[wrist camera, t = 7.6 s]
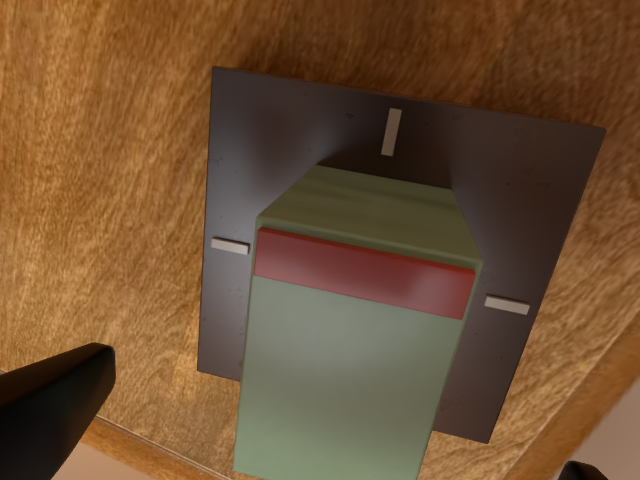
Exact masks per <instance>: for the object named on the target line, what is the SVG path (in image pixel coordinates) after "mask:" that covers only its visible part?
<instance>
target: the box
mask: <svg viewBox="0 0 640 480" xmlns="http://www.w3.org/2000/svg"><path fill="white" fill-rule="evenodd" d="M483 264H484V263H483V259H482V257H481V255H480V252H479V250H478V248H477V246H476V243H475V241H474V239H473V236H472V234H471V232H470V230H469V227H468V225H467V223H466V221H465V218H464V216H463V214H462V212H461V209H460V207H459V205H458V203H457V200H456V198H455V196H454V194H453V191H452V190H450V189H445V188H440V187H434V186H429V185H423V184H418V183H412V182H407V181H401V180H396V179H390V178H385V177H379V176H374V175H368V174H363V173H357V172H351V171H346V170H340V169H335V168H329V167H324V166H318V165H315V166H313V167H312V168H311V169H310V170H309V171H308V172H306V173H305V174H304V175H303V176H302V177H301V178H300V179H298V180H297V181H296V182H295V183H294V184H293V185H292V186H290V187H289V188H288V189H287V190H286V191H285V192H284V193H283V194H281V195H280V196H279V197H278V198H277V199H276V200H275V201H273V202H272V203H271V204H270V205H269V206H268V207H267V208H265V209H264V210H263V211H262V212H261V213H260V214H259V215H257V217H256V223H255V233H254V244H253V255H252V265H251V276H250V287H249V297H248V308H247V319H246V329H245V340H244V350H243V361H242V372H241V382H240V393H239V404H238V414H237V425H236V436H235V446H234V457H233V470H234V471H236V472H239V473H243V474H247V475H250V476H254V477H257V478H261V479H265V480H417V478H418V475H419V472H420V468H421V465H422V462H423V459H424V455H425V452H426V449H427V446H428V442H429V439H430V436H431V433H432V430H433V426H434V423H435V420H436V417H437V413H438V410H439V407H440V404H441V400H442V397H443V394H444V391H445V387H446V384H447V381H448V378H449V374H450V371H451V368H452V365H453V361H454V358H455V355H456V352H457V348H458V345H459V342H460V339H461V335H462V332H463V329H464V326H465V323H466V319H467V316H468V313H469V310H470V306H471V303H472V300H473V297H474V293H475V290H476V287H477V284H478V280H479V277H480V274H481V271H482V267H483Z"/></svg>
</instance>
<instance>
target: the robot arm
mask: <svg viewBox="0 0 640 480" xmlns="http://www.w3.org/2000/svg"><path fill="white" fill-rule="evenodd" d="M115 380H116V370H115V351H114V349H113V347H111V346H109V345H105V344H101V343H95V342H94V343H90V344H87V345H84V346H81V347H78V348H75V349H73V350H70V351H67V352H64V353H61V354H58V355H56V356H53V357H50V358H47V359H44V360H41V361H39V362H36V363H33V364H30V365H27V366H24V367H21V368H19V369H16V370H13V371H10V372H7V373H4V374H2V375H0V480H51V479H52V477H53V476H54V475H55V474H56V472H57V471H58V470H59V469H60V467H61V466H62V464H63V463H64V461H66V459H67V458H68V457H69V455H70V454H71V452H72V451H73V449H74V448H75V446H76V445H77V443H78V442H79V440H80V439H81V437H82V436H83V434H84V433H85V431H86V430H87V428H88V426H89V425H90V423H91V422H92V420H93V419H94V417H95V416H96V414H97V413H98V411H99V410H100V408H101V406H102V405H103V403H104V402H105V400H106V399H107V397H108V396H109V394H110V393H111V391H112V389H113V387H114V384H115ZM558 480H608V479H607V478H606V477H605V476H604V475H603V474H602V473H601V472H600V471H599V470H598V469H597V468H596V467H594V466H592V465H589V464H585V463H581V462H577V461H568V462H567V463H566V464H565V465H564V467H563V470H562V472H561V474H560V476H559V478H558Z"/></svg>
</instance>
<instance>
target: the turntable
mask: <svg viewBox="0 0 640 480" xmlns="http://www.w3.org/2000/svg"><path fill="white" fill-rule="evenodd" d="M605 133H606V129H605V128H602V127H597V126H593V125H588V124H583V123H578V122H572V121H566V120H559V119H553V118H547V117H540V116H534V115H528V114H521V113H515V112H509V111H503V110H496V109H490V108H484V107H477V106H471V105H465V104H458V103H452V102H446V101H440V100H433V99H427V98H421V97H414V96H408V95H402V94H395V93H389V92H383V91H377V90H370V89H364V88H358V87H351V86H345V85H339V84H333V83H326V82H320V81H314V80H307V79H301V78H295V77H288V76H282V75H276V74H270V73H263V72H257V71H251V70H244V69H238V68H230V67H220V66H213V67H212V82H211V102H210V122H209V142H208V162H207V181H206V201H205V221H204V241H203V261H202V280H201V300H200V320H199V340H198V360H197V371H199V372H203V373H207V374H211V375H215V376H219V377H223V378H227V379H231V380H235V381H239V382H241V372H242V361H243V350H244V340H245V329H246V319H247V308H248V297H249V287H250V276H251V265H252V255H253V244H254V233H255V223H256V217H257V215H259V214H260V213H261V212H262V211H263V210H264V209H265V208H267V207H268V206H269V205H270V204H271V203H272V202H273V201H275V200H276V199H277V198H278V197H279V196H280V195H281V194H283V193H284V192H285V191H286V190H287V189H288V188H289V187H290V186H292V185H293V184H294V183H295V182H296V181H297V180H298V179H300V178H301V177H302V176H303V175H304V174H305V173H306V172H308V171H309V170H310V169H311V168H312V167H313V166H315V165H318V166H324V167H329V168H335V169H340V170H346V171H351V172H357V173H363V174H368V175H374V176H379V177H385V178H390V179H396V180H401V181H407V182H412V183H418V184H423V185H429V186H434V187H440V188H445V189H450V190H452V191H453V194H454V196H455V198H456V200H457V203H458V205H459V207H460V209H461V212H462V214H463V216H464V218H465V221H466V223H467V225H468V227H469V230H470V232H471V234H472V236H473V239H474V241H475V243H476V246H477V248H478V250H479V252H480V255H481V257H482V259H483V263H484V264H483V267H482V271H481V274H480V277H479V280H478V284H477V287H476V290H475V293H474V297H473V300H472V303H471V306H470V310H469V313H468V316H467V319H466V323H465V326H464V329H463V332H462V335H461V339H460V342H459V345H458V348H457V352H456V355H455V358H454V361H453V365H452V368H451V371H450V374H449V378H448V381H447V384H446V387H445V391H444V394H443V397H442V400H441V404H440V407H439V410H438V413H437V417H436V420H435V423H434V426H433V431H437V432H441V433H445V434H449V435H453V436H457V437H461V438H465V439H469V440H473V441H477V442H481V443H485V444H488V443H489V440H490V437H491V435H492V432H493V429H494V427H495V424H496V422H497V419H498V416H499V414H500V411H501V408H502V406H503V403H504V400H505V398H506V395H507V392H508V390H509V387H510V385H511V382H512V379H513V377H514V374H515V371H516V369H517V366H518V363H519V361H520V358H521V355H522V353H523V350H524V348H525V345H526V342H527V340H528V337H529V334H530V332H531V329H532V326H533V324H534V321H535V318H536V316H537V313H538V311H539V308H540V305H541V303H542V300H543V297H544V295H545V292H546V289H547V287H548V284H549V281H550V279H551V276H552V274H553V271H554V268H555V266H556V263H557V260H558V258H559V255H560V252H561V250H562V247H563V244H564V242H565V239H566V237H567V234H568V231H569V229H570V226H571V223H572V221H573V218H574V215H575V213H576V210H577V207H578V205H579V202H580V199H581V197H582V194H583V192H584V189H585V186H586V184H587V181H588V178H589V176H590V173H591V170H592V168H593V165H594V162H595V160H596V157H597V155H598V152H599V149H600V147H601V144H602V141H603V139H604V136H605Z"/></svg>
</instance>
